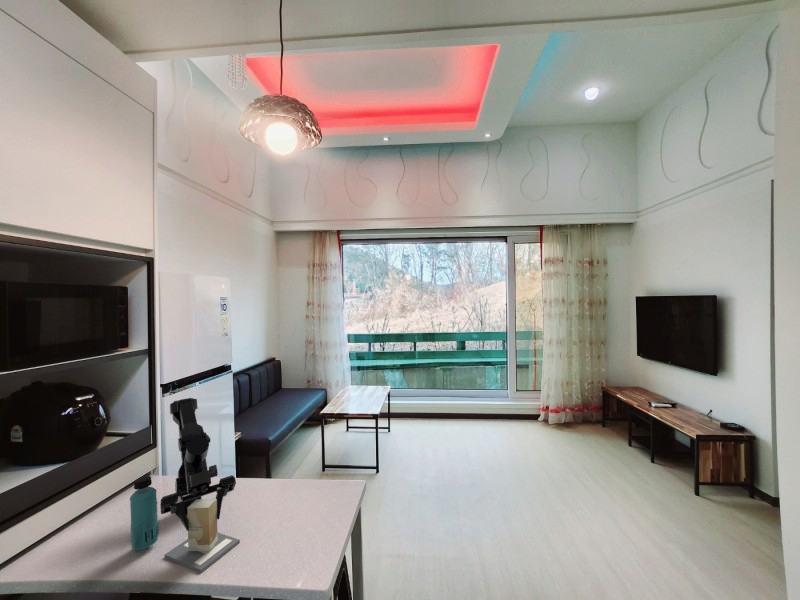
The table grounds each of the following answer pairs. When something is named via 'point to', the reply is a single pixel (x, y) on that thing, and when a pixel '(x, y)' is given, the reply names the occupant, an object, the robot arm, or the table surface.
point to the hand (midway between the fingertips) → (203, 524)
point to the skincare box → (202, 524)
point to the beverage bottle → (143, 514)
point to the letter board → (201, 553)
